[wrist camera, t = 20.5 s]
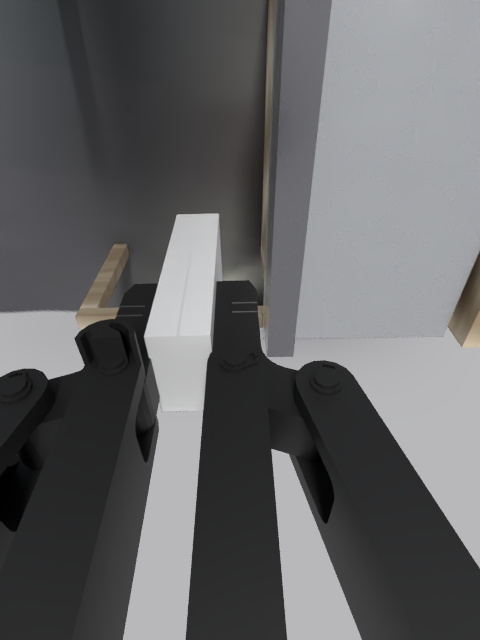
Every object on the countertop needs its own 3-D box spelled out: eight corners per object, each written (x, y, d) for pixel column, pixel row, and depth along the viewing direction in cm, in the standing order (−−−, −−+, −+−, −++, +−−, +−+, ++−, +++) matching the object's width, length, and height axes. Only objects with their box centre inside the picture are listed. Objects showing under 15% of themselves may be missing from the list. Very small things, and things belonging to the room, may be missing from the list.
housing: (48, -41, 23) (-104, -90, 13) (496, -45, 24) (707, -95, 13) (116, 255, 36) (68, 352, 26) (408, 251, 36) (479, 347, 26)
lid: (278, -80, 15) (290, -107, 11) (602, -82, 15) (703, -110, 12) (262, 329, 27) (266, 370, 24) (437, 327, 27) (463, 367, 24)
